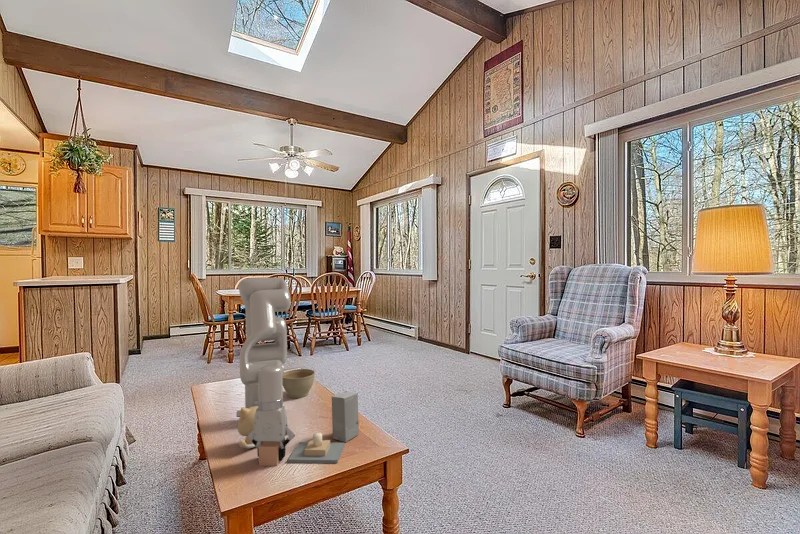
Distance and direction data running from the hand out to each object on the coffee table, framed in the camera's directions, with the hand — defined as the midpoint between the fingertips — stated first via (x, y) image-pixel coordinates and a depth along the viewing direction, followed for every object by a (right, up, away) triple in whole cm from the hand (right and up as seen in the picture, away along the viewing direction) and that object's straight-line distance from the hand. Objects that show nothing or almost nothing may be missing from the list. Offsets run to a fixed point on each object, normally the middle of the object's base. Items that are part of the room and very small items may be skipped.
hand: (271, 458), depth 124 cm
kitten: (-9, -1, +11) cm, 15 cm away
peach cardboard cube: (0, -1, 0) cm, 1 cm away
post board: (+14, -1, +4) cm, 15 cm away
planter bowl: (-8, -1, +63) cm, 64 cm away
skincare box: (+22, -1, +17) cm, 28 cm away
